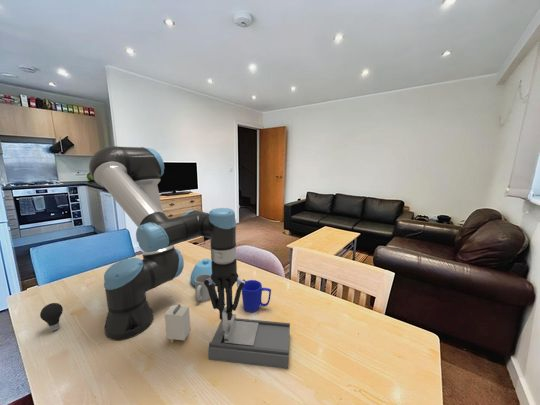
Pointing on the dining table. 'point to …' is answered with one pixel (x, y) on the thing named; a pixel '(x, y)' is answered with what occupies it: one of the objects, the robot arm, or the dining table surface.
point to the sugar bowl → (201, 269)
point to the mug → (253, 295)
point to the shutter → (240, 332)
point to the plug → (177, 323)
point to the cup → (201, 288)
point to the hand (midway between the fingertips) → (226, 327)
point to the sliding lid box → (255, 346)
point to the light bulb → (52, 315)
